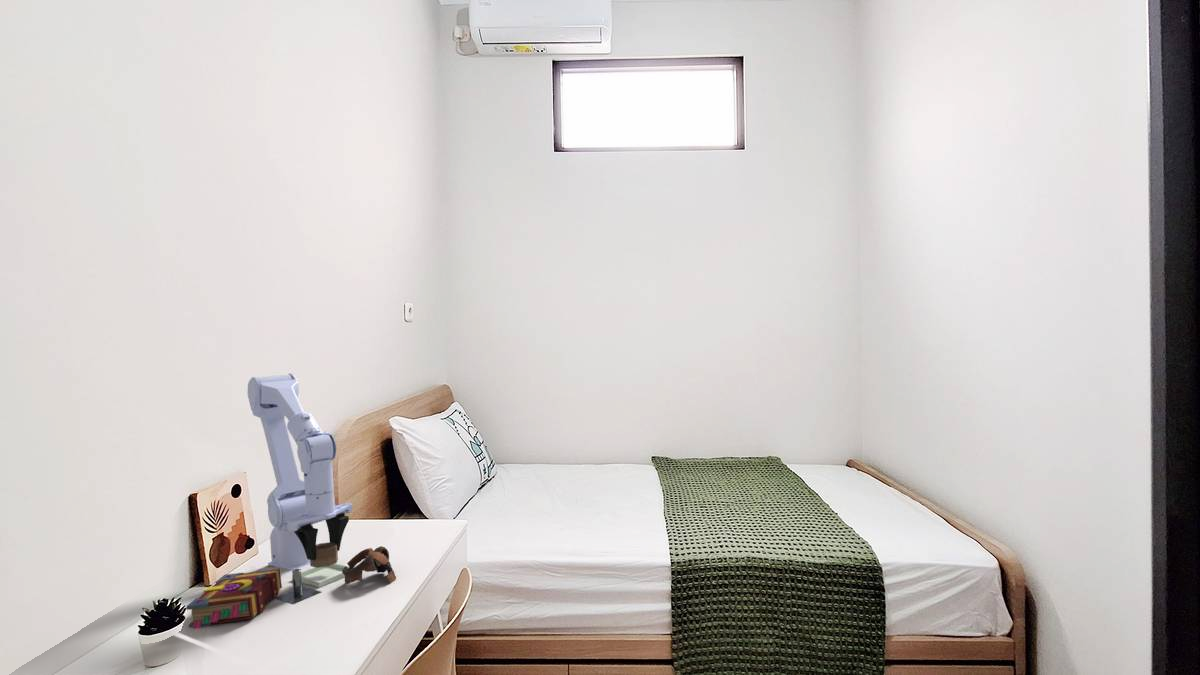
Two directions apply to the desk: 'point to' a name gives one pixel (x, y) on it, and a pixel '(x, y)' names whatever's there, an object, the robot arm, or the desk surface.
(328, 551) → the collar
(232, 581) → the decorative book
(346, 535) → the desk surface
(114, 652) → the desk surface
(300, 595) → the grey peg stand
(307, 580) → the tray
